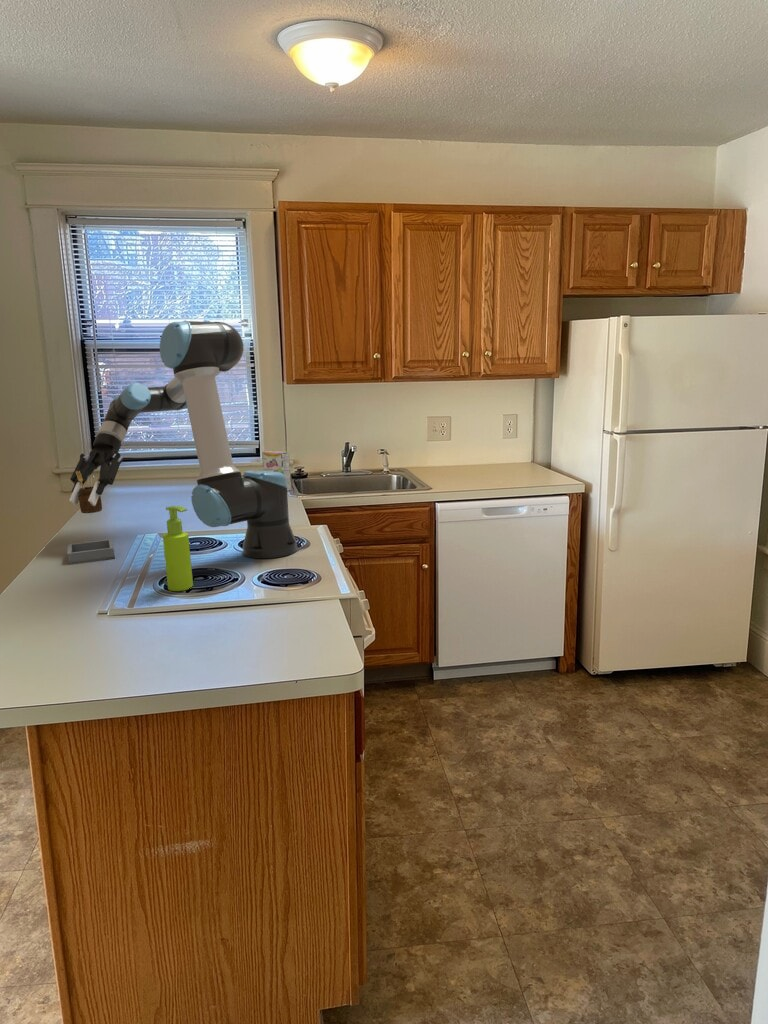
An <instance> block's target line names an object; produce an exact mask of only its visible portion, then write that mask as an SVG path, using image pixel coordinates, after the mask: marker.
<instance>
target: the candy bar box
mask: <svg viewBox="0 0 768 1024" xmlns="http://www.w3.org/2000/svg"><path fill="white" fill-rule="evenodd" d="M261 455H262V457H261V458H262V469H263V470H262V471H273V472H280V473H283V474H284V475H285V477H286V484H287V492H290V491H292V479H291V478H292V477H291V464H290V461H291V459H290V451H289V452H288V451H280V450H279V451H277V450H265V451H262V452H261Z"/></svg>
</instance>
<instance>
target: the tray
mask: <svg viewBox="0 0 768 1024" xmlns="http://www.w3.org/2000/svg"><path fill="white" fill-rule="evenodd" d="M113 542H114V540H113V538H110V539H108V538H107V539H102V540H92V541H83V542H75V543H68V544H67V553H66V554H67V561H68V562H67V563H68V565H73V564H74V565H75V564H82V563H89V562H90V563H91V562H97V561H98V562H100V561H104V560H105V561H106V560H115V558H116V557H115V548H114V543H113Z"/></svg>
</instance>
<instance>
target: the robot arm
mask: <svg viewBox="0 0 768 1024" xmlns="http://www.w3.org/2000/svg"><path fill="white" fill-rule="evenodd" d="M161 333H162V334H161V337H160V340H159V355H160V359H161V362H162V363H163V365H164V366H165V367H166V368H169V369H172V370H173V375H174V377H173V378H172V379H171V380H170V381H169V382H168V383H167V384H166V385H163V386H151V387H148V386H146V385H145V384H143V383H140V382H132V383H129V384H128V385H127V386H126V387H125V388H124V389H123V390H122V391H121V393H120V394H119V395H118V394H117V395H115V396H114V397H113V398H112V401H111V402H110V404H109V405H108V409H107V412H106V414H105V417H104V418H103V421H102V423H101V425H100V428H99V429H98V431H97V435H96V436H95V438H94V441H93V443H92V449H91V451H90V452H89V453H87V454H84V453H81V454H80V455H79V460H78V462H77V464H76V467H75V469H74V470H73V473H72V474H71V477H70V478H69V479H70V482H71V483H73V484H74V485H73V486H72V489H71V495H70V497H69V499H68V500H69V502H70V503H71V504H72V506H75V507H76V506H78V504H79V495H80V493H79V489H80V488H82V485H81V482H79V481H78V478H77V475H76V472H77V471H78V472H79V471H80V473H81V476H82V479H83V481H82V483H83V486H85V485H84V484H85V483H86V482H87V481H88V479H87V478H89V479H90V477H91V475H93V472H94V471H95V470H97V469H98V468H100V469H99V477H98V479H97V481H95V483H94V484H93V487H94V488H93V490H92V492H91V495H90V497H89V499H88V501H89V502H90V503H91V504H92V505H93V506H95V505H96V503H97V500H98V498H99V496H101V495H103V493H104V490H105V488H106V487H107V486H108V485H110V486H112V485H113V484H114V482H115V479H116V477H117V474H118V472H119V469H120V465H121V464H122V463H123V462H124V457H123V456H122V455H121V454H120V449H121V447H122V444H123V443H124V440H125V437H126V435H127V433H128V430H129V428H130V426H131V423H132V422H133V420H134V419H135V418H136V417H137V416H138V415H139V414H143V413H157V412H167V411H171V412H172V411H180V410H185V409H187V413H188V417H189V422H190V427H191V430H192V431H191V432H192V436H193V440H194V445H195V451H196V455H197V459H198V464H199V470H200V473H199V475H198V476H197V478H196V483H197V485H195V487H193V489H192V491H191V505H192V508H193V511H194V512H195V515H196V516H197V518H198V519H199V521H200V522H202V523H203V524H204V525H205V526H207V527H210V528H219V527H228V526H229V525H230V526H231V525H233V524H239V523H243V522H247V528H246V531H245V536H244V539H243V543H242V553H243V555H244V556H246V557H248V558H254V559H272V558H273V559H274V558H281V557H286V556H289V555H293V554H294V553H295V552H297V551H298V545H297V540H296V538H295V534H294V533H293V530H292V528H291V525H290V519H289V517H290V516H289V502H288V501H289V500H288V491H287V484H286V477H285V475H284V474H283V473H280V472H273V471H263V470H245V471H244V472H243V474H242V472H241V470H240V469H238V468H237V467H236V466H235V465H234V462H233V458H232V457H233V456H232V453H231V452H232V451H231V448H230V443H229V437H228V434H227V430H226V429H227V428H226V424H225V420H224V419H225V418H224V415H223V410H222V404H221V400H220V396H219V390H218V385H217V381H216V377H217V376H218V375H219V374H221V373H226V372H228V371H230V370H231V369H233V368H234V367H235V366H236V365H237V364H238V363H239V362H240V360H241V358H242V357H243V353H244V342H243V337H242V336H241V335H240V333H239V331H237V329H236V328H235V327H234V326H232V325H231V324H228V323H227V322H222V321H198V320H196V321H195V320H183V321H172V322H170V323H168V324H167V325H166V326H165V327H164V329H163V330H162V332H161ZM77 474H78V473H77ZM79 475H80V474H79ZM89 476H90V477H89ZM78 477H79V476H78ZM80 478H81V477H80Z"/></svg>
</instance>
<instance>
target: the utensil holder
mask: <svg viewBox="0 0 768 1024" xmlns="http://www.w3.org/2000/svg"><path fill="white" fill-rule="evenodd" d="M77 473H78V474H77ZM79 474H80V475H79ZM76 475H77V478H78V481H79V482H81V485H82V488H80V489H79V493H80V495H79V501H78V504H79V508H80V513H82V514H94V513H98V512H101V511H102V510H103V504H102V497H101V495H100V496H99V498H98V500H97V503H96V505H95V506H93V505H92V504H91V503H90V502H89V501H88V499H89V497H90V495H91V492H92V490H93V488H94V486H93V484H95V483H96V477H95V476H93V474H91V475H90V476H89V478H87V483H86V484H87V485H89V483H90V482H91V485H90V486H86V487H85V485H83V483H82V481H83V479H82V476H81V473H80V471H79V472H78V471H77V472H76ZM78 476H79V477H78ZM92 476H93V477H92ZM80 477H81V478H80ZM90 477H91V478H90ZM92 478H94V481H93V479H92ZM89 479H91V481H90V480H89ZM89 481H90V482H89ZM92 482H94V483H92Z"/></svg>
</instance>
